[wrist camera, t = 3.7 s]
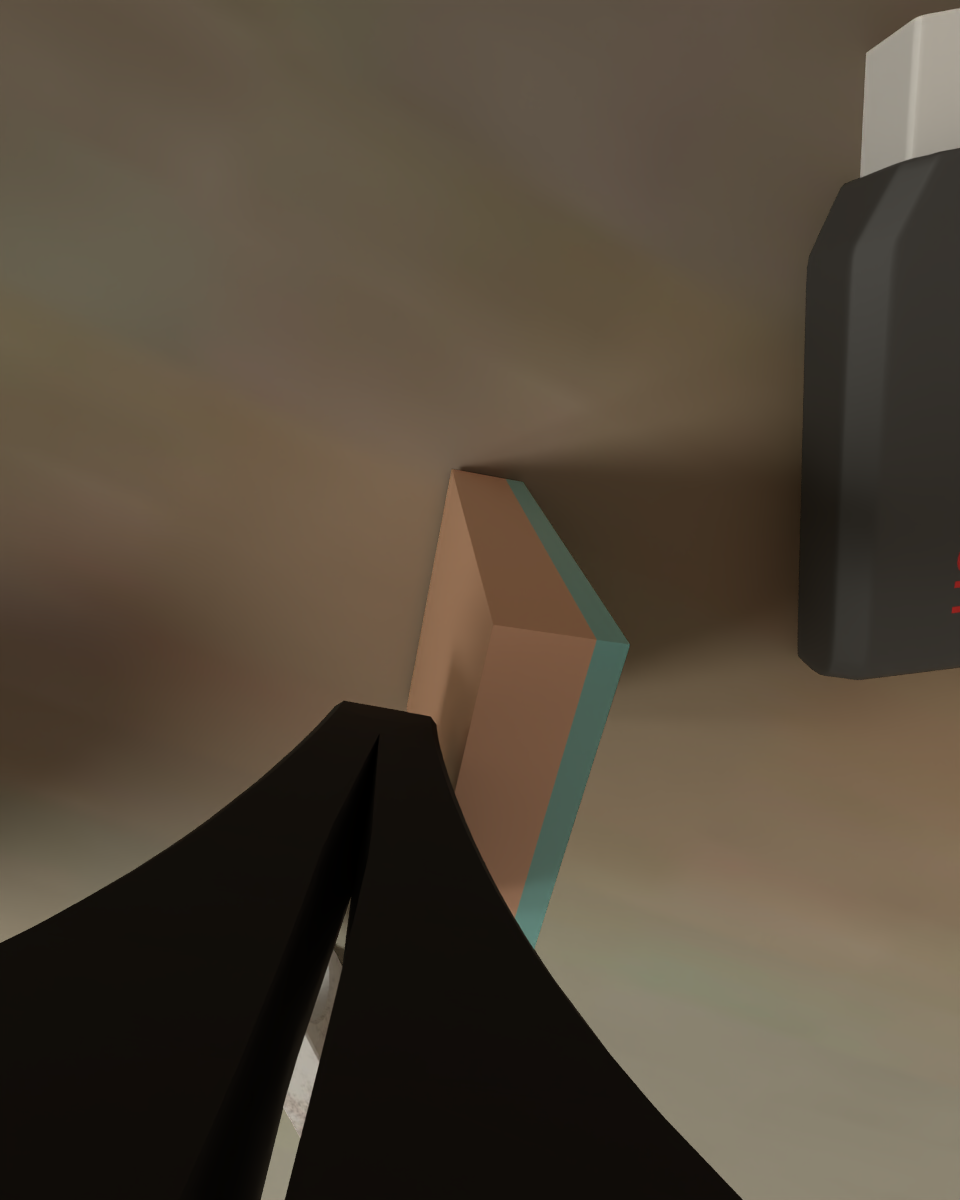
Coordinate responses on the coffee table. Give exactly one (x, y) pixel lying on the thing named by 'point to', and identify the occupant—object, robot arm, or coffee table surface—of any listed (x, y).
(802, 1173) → the coffee table surface
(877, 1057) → the coffee table surface
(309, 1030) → the wrench
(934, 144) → the usb drive
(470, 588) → the tile
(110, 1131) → the robot arm
